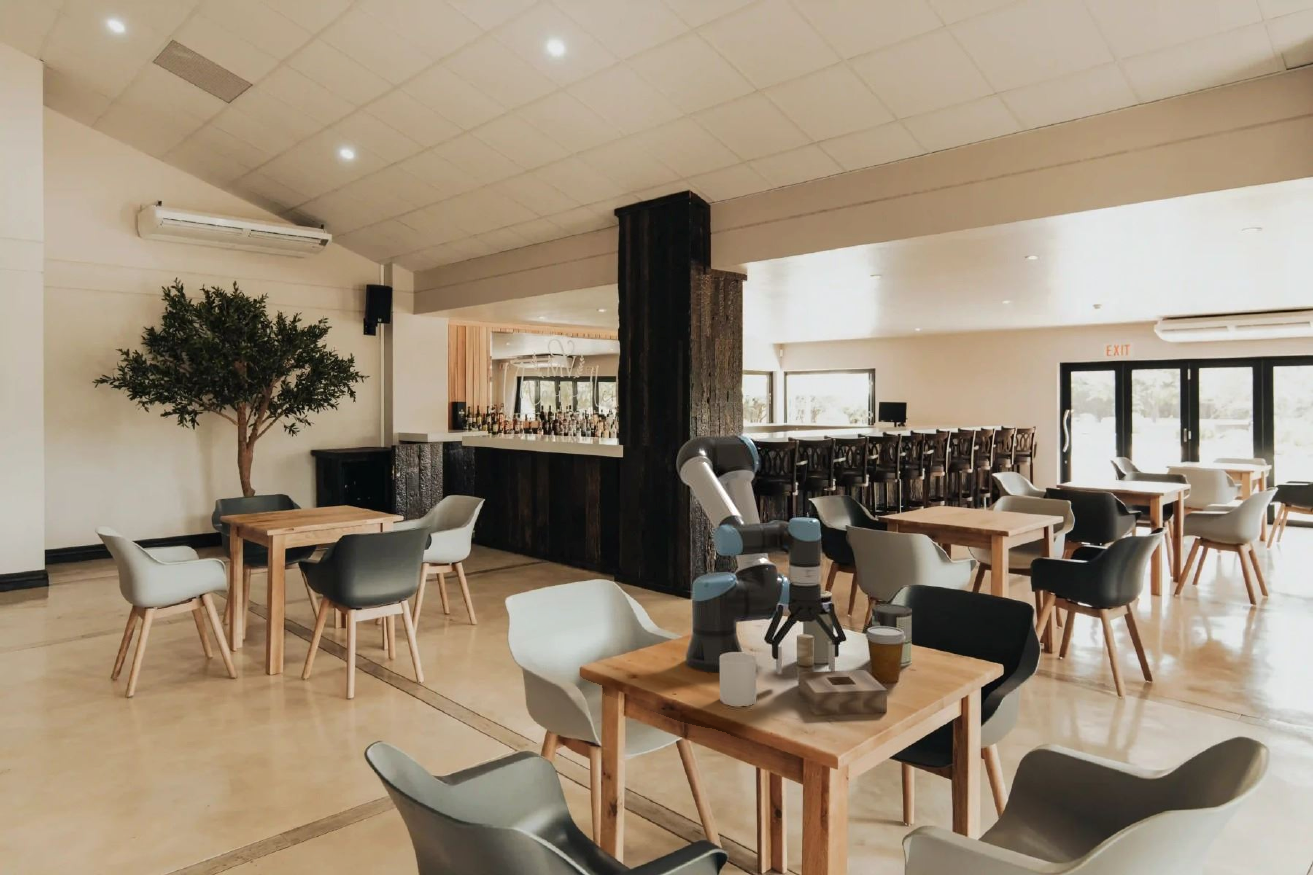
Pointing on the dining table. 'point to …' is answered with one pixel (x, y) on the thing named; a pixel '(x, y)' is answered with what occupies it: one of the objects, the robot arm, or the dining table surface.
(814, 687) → the board
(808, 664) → the peg
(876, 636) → the disposable coffee cup
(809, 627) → the travel mug
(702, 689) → the dining table surface
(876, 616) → the coffee can
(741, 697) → the cup
